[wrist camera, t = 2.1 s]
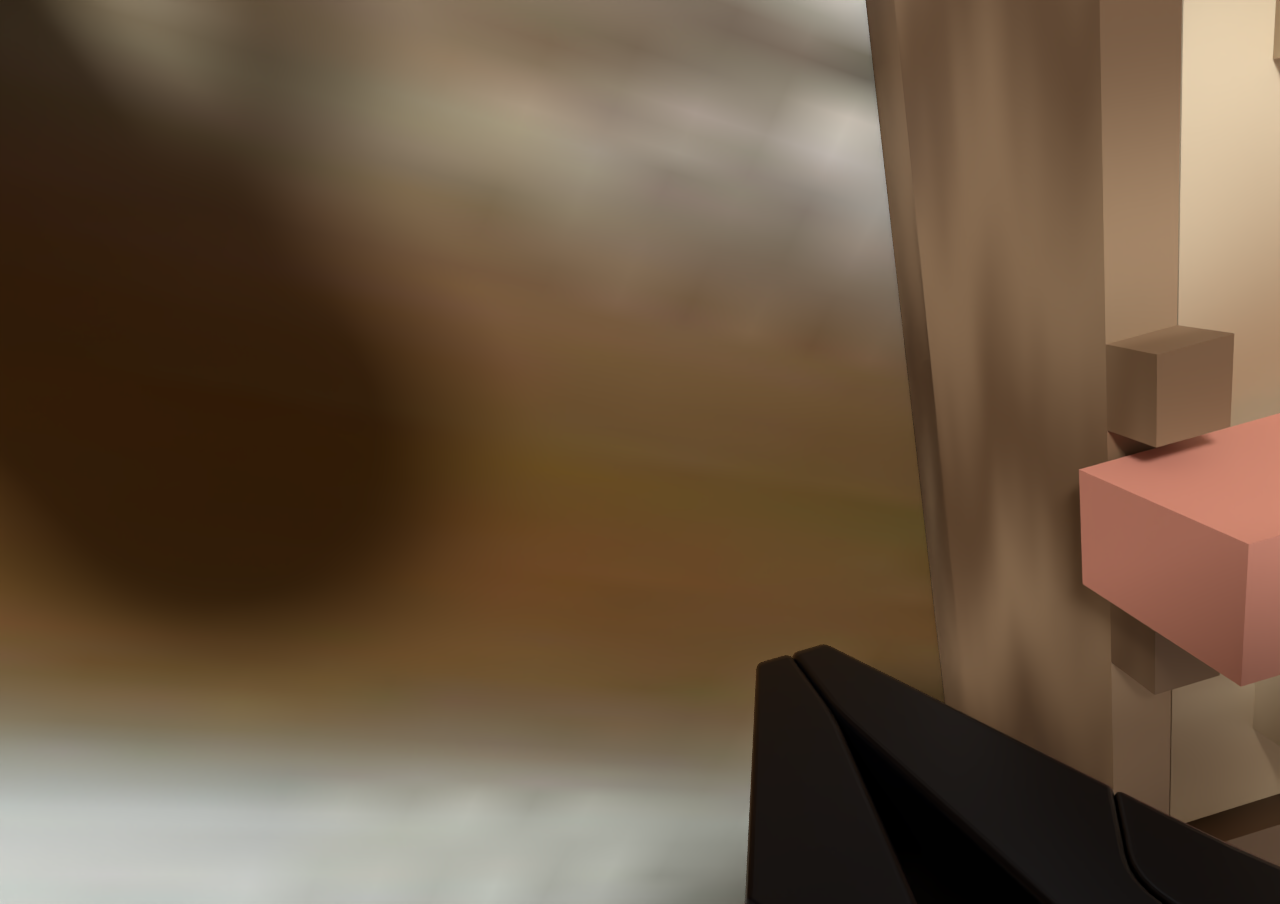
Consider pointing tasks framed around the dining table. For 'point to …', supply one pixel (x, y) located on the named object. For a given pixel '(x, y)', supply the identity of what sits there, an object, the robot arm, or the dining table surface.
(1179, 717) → the sliding box lid
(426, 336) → the dining table surface
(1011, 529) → the toolbox
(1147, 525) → the salmon pink rectangular bar
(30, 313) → the dining table surface
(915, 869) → the robot arm
